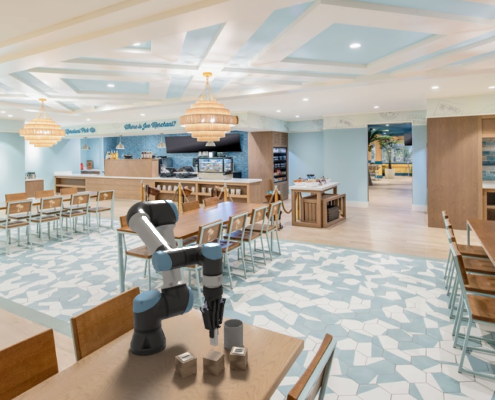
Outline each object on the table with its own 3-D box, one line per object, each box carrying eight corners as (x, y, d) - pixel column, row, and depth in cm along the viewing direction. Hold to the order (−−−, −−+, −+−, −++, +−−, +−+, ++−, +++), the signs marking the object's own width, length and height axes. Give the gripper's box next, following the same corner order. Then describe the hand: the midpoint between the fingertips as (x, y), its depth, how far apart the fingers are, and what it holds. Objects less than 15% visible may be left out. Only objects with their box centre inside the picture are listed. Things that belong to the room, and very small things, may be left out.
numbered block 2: (229, 369, 133) (229, 353, 133) (233, 360, 139) (232, 345, 138) (244, 370, 132) (244, 355, 131) (247, 361, 138) (247, 346, 137)
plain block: (203, 372, 131) (202, 357, 130) (211, 364, 136) (211, 349, 136) (216, 376, 129) (216, 361, 128) (224, 367, 134) (224, 353, 133)
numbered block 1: (175, 371, 132) (174, 355, 131) (189, 365, 136) (188, 350, 135) (183, 378, 127) (182, 362, 127) (197, 372, 131) (196, 356, 130)
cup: (240, 351, 146) (240, 328, 145) (221, 349, 148) (221, 326, 147) (244, 341, 154) (244, 319, 153) (226, 339, 156) (226, 318, 155)
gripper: (208, 291, 122) (210, 355, 124) (231, 281, 132) (232, 340, 134) (193, 287, 126) (195, 349, 128) (216, 278, 137) (217, 335, 139)
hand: (214, 344), depth 131 cm, fingers closed
